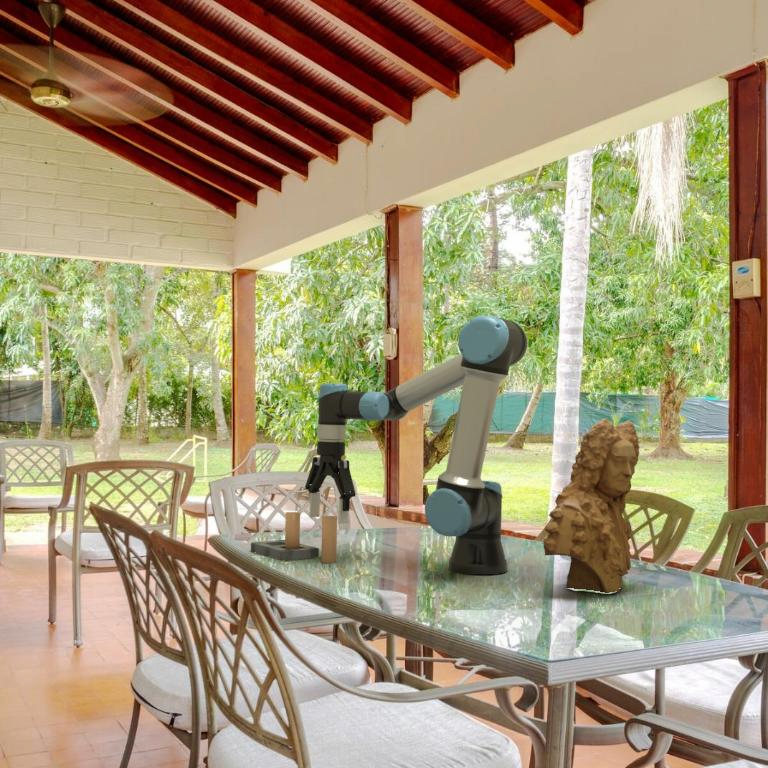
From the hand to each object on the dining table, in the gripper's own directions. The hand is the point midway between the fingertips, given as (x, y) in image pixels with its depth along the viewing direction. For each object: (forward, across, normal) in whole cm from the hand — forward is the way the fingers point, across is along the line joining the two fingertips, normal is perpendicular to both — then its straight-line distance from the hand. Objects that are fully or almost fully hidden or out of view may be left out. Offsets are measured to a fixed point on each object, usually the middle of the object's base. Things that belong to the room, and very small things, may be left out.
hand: (328, 520), depth 231 cm
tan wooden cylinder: (+11, +12, +4) cm, 17 cm away
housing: (+11, +16, +4) cm, 20 cm away
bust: (+10, -62, -33) cm, 71 cm away
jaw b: (+11, 0, 0) cm, 11 cm away
